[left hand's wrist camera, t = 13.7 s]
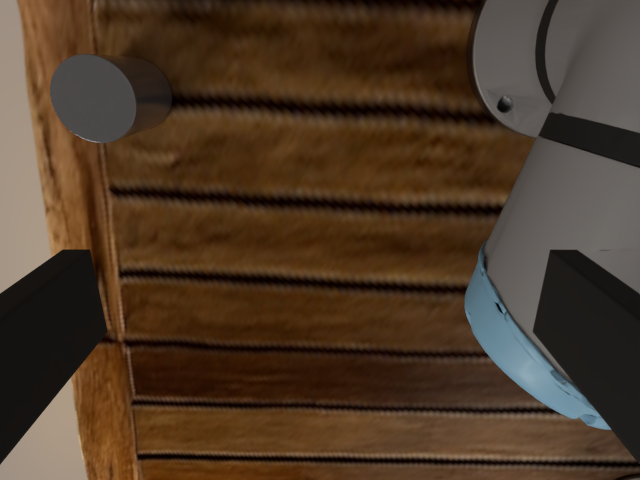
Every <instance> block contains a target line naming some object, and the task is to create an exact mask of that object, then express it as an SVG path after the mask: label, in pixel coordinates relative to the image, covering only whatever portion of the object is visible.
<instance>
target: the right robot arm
mask: <svg viewBox="0 0 640 480" xmlns="http://www.w3.org/2000/svg"><path fill="white" fill-rule="evenodd" d="M620 480H640V475H634V476H629V477H625V478H622V479H620Z"/></svg>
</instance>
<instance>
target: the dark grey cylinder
mask: <svg viewBox="0 0 640 480" xmlns="http://www.w3.org/2000/svg"><path fill="white" fill-rule="evenodd" d="M50 95H51V101H52V105H53V107H54V110H55V112H56V114H57V116H58V117H59V119H60V120H61V122H62V123H63V124H64V125H65V126H66V127H67V128H68V129H69V130H70V131H71V132H72V133H74V134H75V135H77V136H78V137H80V138H82V139H85V140H87V141H90V142H95V143H108V142H113V141H115V140H118V139H121V138H124V137H127V136H130V135H133V134H136V133H138V132H141V131H144V130H147V129H150V128H153V127H155V126H157V125H159V124H160V123H162V122H163V121H164V120H165V118H166V117H167V116H168V114H169V112H170V109H171V105H172V93H171V88H170V85H169V83H168V80H167V79H166V77H165V75H164V74H163V73H162V71H161V70H160V69H159V68H158V67H156V66H155V65H154V64H152V63H151V62H149V61H147V60H145V59H142V58H138V57H124V56H109V55H94V54H79V55H74V56H72V57H69V58H68V59H66V60H64V61H63V62H62V63H61V64H60V65H59V66H58V67H57V69H56V70H55V72H54V74H53V77H52V80H51V85H50Z"/></svg>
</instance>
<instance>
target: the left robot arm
mask: <svg viewBox="0 0 640 480" xmlns="http://www.w3.org/2000/svg"><path fill="white" fill-rule="evenodd" d="M467 67H468V74H469V79H470V83H471V86H472V89H473V91H474V93H475V96H476V98H477V99H478V101H479V103H480V105H481V106H482V107H483V109H484V110H485V111H486V112H487V113H488V115H489V116H490V117H491V118H493V119H494V120H495V121H496V122H497V123H499V124H500V125H502V126H503V127H505V128H507V129H509V130H511V131H514V132H517V133H520V134H523V135H526V136H529V137H533V138H536V140H535V142H534V144H533V146H532V148H531V150H530V152H529V154H528V156H527V159H526V161H525V163H524V165H523V167H522V169H521V171H520V173H519V176H518V178H517V180H516V182H515V184H514V186H513V188H512V190H511V192H510V195H509V197H508V199H507V201H506V203H505V205H504V207H503V209H502V212H501V214H500V216H499V218H498V220H497V222H496V224H495V226H494V228H493V231H492V233H491V235H490V237H489V239H488V241H485V242H484V243H483V245H482V246H481V249H480V251H479V256H478V263H477V265H476V268H475V271H474V273H473V276H472V278H471V281H470V283H469V286H468V288H467V291H466V294H465V312H466V315H467V318H468V321H469V323H470V324H471V328H472V332H473V333H474V335H475V337H476V339H477V340H478V342H479V343H480V345H481V346H482V348H483V349H484V350H485V352H486V353H487V354H488V355H489V356H490V358H491V359H492V360H493V361H494V362H495V363H496V364H497V365H498V366H499V367H500V368H501V369H502V370H503V371H504V372H505V373H506V374H507V375H508V376H509V377H510V378H511V379H512V380H513V381H515V382H516V383H517V384H518V385H519V386H520V387H522V388H523V389H524V390H525V391H527V392H528V393H529V394H531V395H532V396H534V397H535V398H536V399H538V400H539V401H541V402H542V403H544V404H545V405H547V406H548V407H550V408H552V409H553V410H555V411H557V412H559V413H561V414H563V415H565V416H567V417H569V418H571V419H576V418H580V419H582V420H583V421H584V422H585V423H586V424H587V425H588V426H592V427H595V428H600V429H605V430H612V431H613V432H614V433H615V434H616V436H617V437H618V438H619V439H620V441H621V442H622V443H623V444H624V446H625V447H626V448H627V449H628V451H629V452H630V453H631V454H632V455H633V457H634V458H635V459H636V460H637V462H638V463H639V464H640V0H481V2H480V4H479V6H478V9H477V11H476V13H475V16H474V19H473V22H472V25H471V29H470V33H469V38H468V45H467ZM548 139H549V140H548ZM552 140H553V141H552ZM555 141H556V142H555ZM558 142H559V143H558ZM561 143H562V144H561ZM568 145H569V146H568ZM571 146H572V147H571ZM574 147H575V148H574ZM606 157H607V158H606ZM609 158H610V159H609ZM106 333H107V327H106V322H105V318H104V313H103V308H102V304H101V299H100V294H99V290H98V285H97V280H96V276H95V271H94V266H93V262H92V257H91V253H90V250H62V251H60V252H59V253H57V254H56V255H55V256H53V257H52V258H50V259H49V260H48V261H46V262H45V263H43V264H42V265H41V266H39V267H38V268H36V269H35V270H33V271H32V272H30V273H29V274H28V275H26V276H25V277H23V278H22V279H20V280H19V281H18V282H16V283H15V284H13V285H12V286H11V287H9V288H8V289H6V290H5V291H3V292H2V293H1V294H0V464H1V463H2V462H3V460H4V459H5V458H6V457H7V455H8V454H9V453H10V452H11V450H12V449H13V448H14V447H15V446H16V444H17V443H18V442H19V441H20V439H21V438H22V437H23V436H24V434H25V433H26V432H27V431H28V430H29V428H30V427H31V426H32V425H33V423H34V422H35V421H36V420H37V418H38V417H39V416H40V415H41V413H42V412H43V411H44V410H45V408H46V407H47V406H48V405H49V404H50V402H51V401H52V400H53V399H54V397H55V396H56V395H57V394H58V392H59V391H60V390H61V389H62V387H63V386H64V385H65V384H66V382H67V381H68V380H69V379H70V378H71V376H72V375H73V374H74V373H75V371H76V370H77V369H78V368H79V366H80V365H81V364H82V363H83V362H84V360H85V359H86V358H87V357H88V355H89V354H90V353H91V352H92V350H93V349H94V348H95V347H96V345H97V344H98V343H99V342H100V341H101V339H102V338H103V337H104V336H105V334H106Z"/></svg>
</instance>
